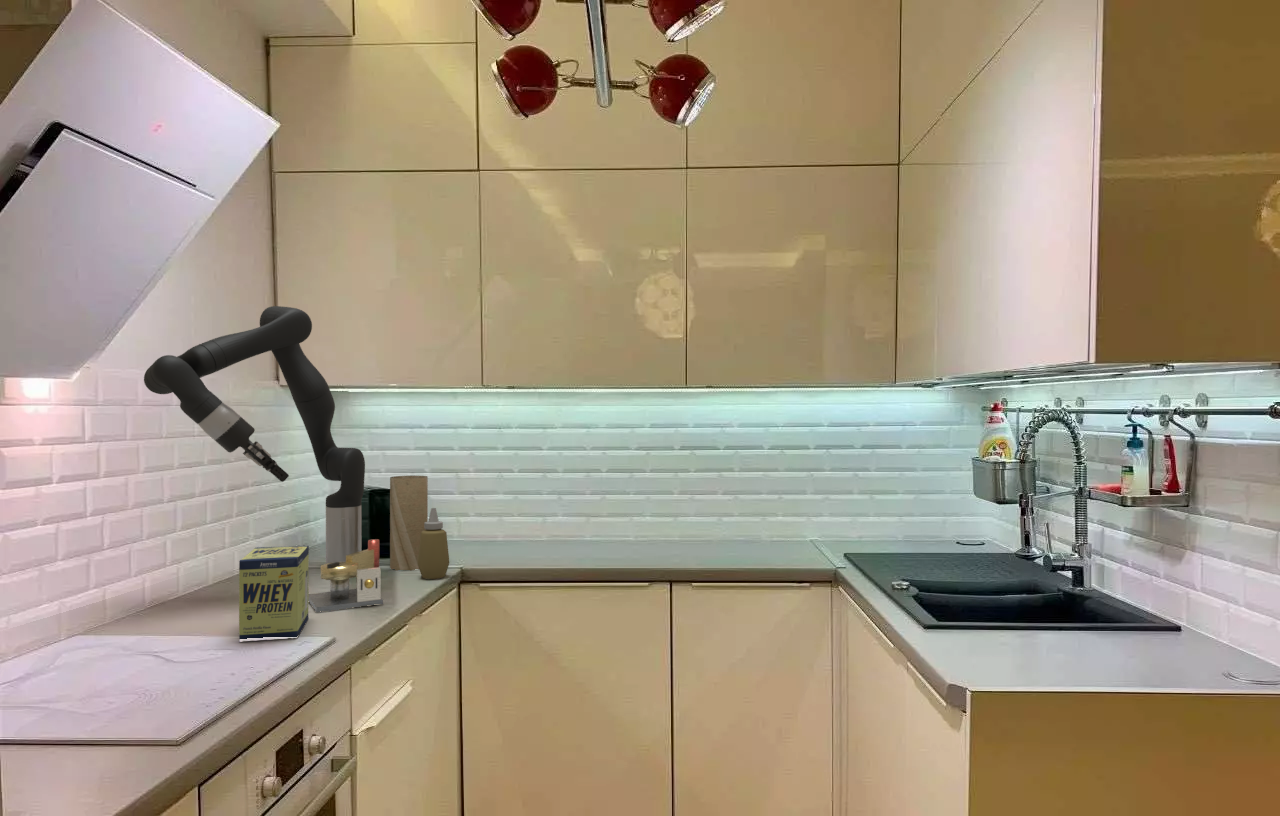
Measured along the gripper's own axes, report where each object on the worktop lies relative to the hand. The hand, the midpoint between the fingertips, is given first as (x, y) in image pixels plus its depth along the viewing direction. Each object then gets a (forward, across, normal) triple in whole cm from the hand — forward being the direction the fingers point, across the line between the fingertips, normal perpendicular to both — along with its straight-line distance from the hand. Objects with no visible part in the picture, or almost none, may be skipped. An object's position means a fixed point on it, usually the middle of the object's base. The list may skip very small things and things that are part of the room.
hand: (285, 478), depth 186 cm
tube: (+44, +20, -4) cm, 48 cm away
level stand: (+27, -13, +12) cm, 32 cm away
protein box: (+16, -30, +23) cm, 41 cm away
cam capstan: (+25, -9, +6) cm, 27 cm away
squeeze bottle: (+45, +3, -6) cm, 45 cm away
